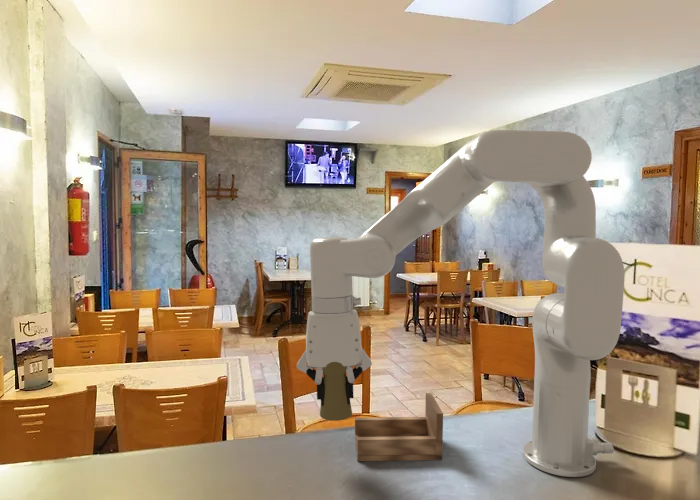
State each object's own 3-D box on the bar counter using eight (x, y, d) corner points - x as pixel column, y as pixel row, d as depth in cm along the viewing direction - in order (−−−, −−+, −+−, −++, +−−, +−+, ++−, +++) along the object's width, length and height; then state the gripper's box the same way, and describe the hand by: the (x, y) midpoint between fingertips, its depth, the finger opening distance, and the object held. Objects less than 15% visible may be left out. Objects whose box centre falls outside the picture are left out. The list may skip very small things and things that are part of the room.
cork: (348, 421, 86) (346, 361, 85) (315, 419, 87) (313, 360, 86) (355, 408, 92) (353, 351, 91) (324, 406, 93) (322, 350, 92)
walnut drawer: (430, 434, 101) (431, 393, 101) (442, 459, 91) (443, 413, 90) (354, 435, 101) (355, 393, 100) (357, 461, 90) (357, 414, 90)
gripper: (376, 299, 92) (378, 393, 93) (288, 302, 91) (291, 396, 93) (380, 307, 85) (382, 408, 86) (284, 310, 84) (288, 412, 85)
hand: (335, 401), depth 89 cm, fingers closed on cork, 4 cm apart
